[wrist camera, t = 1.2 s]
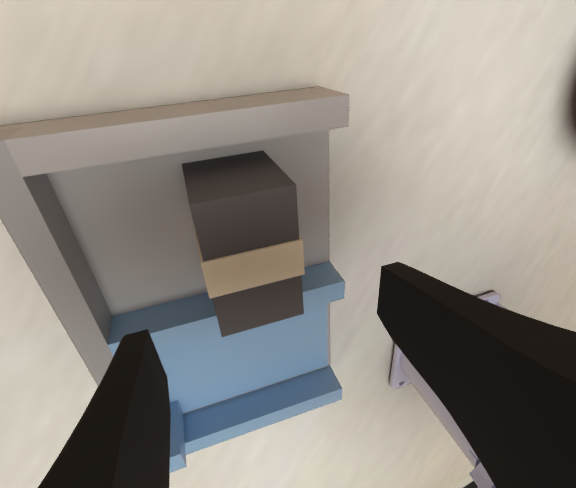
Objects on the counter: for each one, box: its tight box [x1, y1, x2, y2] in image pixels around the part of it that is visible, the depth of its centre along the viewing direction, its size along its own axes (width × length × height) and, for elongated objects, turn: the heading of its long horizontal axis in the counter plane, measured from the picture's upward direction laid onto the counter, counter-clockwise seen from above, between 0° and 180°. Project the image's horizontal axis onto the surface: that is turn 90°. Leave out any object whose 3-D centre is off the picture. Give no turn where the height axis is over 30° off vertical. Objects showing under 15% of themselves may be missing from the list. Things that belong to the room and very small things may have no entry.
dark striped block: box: [182, 150, 305, 337], centre depth 15 cm, size 4×6×5 cm, turn 4°
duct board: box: [0, 87, 349, 473], centre depth 18 cm, size 13×20×4 cm, turn 4°
